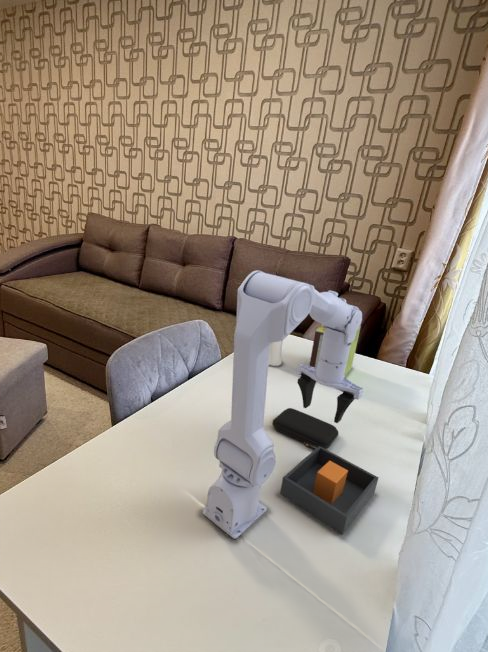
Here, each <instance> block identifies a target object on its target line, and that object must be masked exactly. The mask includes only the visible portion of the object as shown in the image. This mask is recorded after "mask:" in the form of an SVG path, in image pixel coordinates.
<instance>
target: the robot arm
mask: <svg viewBox="0 0 488 652" xmlns="http://www.w3.org/2000/svg"><path fill="white" fill-rule="evenodd" d="M236 294H237V296H236V300H237V301H236V317H235V318H236V320H235V322H236V325H235V328H234V329H235V330H234V335H233V357H232V358H233V359H232V360H233V362H232V364H233V365H232V389H231V390H232V391H231V412H230V413H231V415H230V420H229V421H228V422H225V423H224V424H223V425H222V426H221V427H220V428H219V429H218V431H217V439H216V441H215V444H214V448H213V456H214V458H215V459H216V460H218V461H219V463H218V464H219V465H218V467H219V468H220V469H221V471H220V474H219V476H218V477H217V480H215V482H214V483H213V484H212V485H210V487H209V488H208V491H207V500H206V507H205V508H204V509H203V510H202V514H203V515H204V516H205V517H206V518H208V519H209V520H210V521H211V522H212V523H213V524H215V525H216V527H218V528H220V529H221V530H222V531H223V532H225V533H226V534H227V535H229V537H230V538H232V539H234V540H236V539H238V538H239V537H240V536H241V535H242V533H243V532H245V531H246V530H247V529H248V528H249V527H250V526H252V525H253V523H254V522H255V521H257V520H258V519H259V518H260V517H261V516H262V515H263V514H264V513H265V512H266V511H267V510H268V508H267V506H265V505H264V504H262V503H261V502H260V494H261V488H262V485H263V484H265V483H266V482H267V481H268V480H269V478H270V477H271V476H272V474H273V472H274V470H275V468H276V454H275V452H274V448H275V447H274V446H275V445H274V441H273V440H272V438H271V437H270V436H269V434H268V432H267V431H266V430H265V428H264V424H265V413H266V411H265V410H266V400H267V399H266V398H267V386H268V373H269V365H268V364H269V352H270V345H271V343H273V342H279V341H282V342H284V340H285V339H287V337H288V336H289V335H290V334H291V333H292V332H293V331H294V330H296V328H297V327H298V326H299V325H300V324H301V323H302V322H303V321H304V320H305V319H306V318H307V317H308V315H309V316H310V318H311V319H312V320H313V321H315V322H317V323H319V324H320V326H322V327H323V326H325V329H324V334H323V339H322V344H321V350H320V355H319V360H318V365H317V368H315V367H311V366H309V365H306V364H304V363H301V364H299V365H298V366H297V367H296V368H297V369H296V375H298V376H299V377H298V378H297V381H296V382H297V385H298V387H299V389H300V393H301V397H302V407H303V408H304V409H307V408H308V407H310V406H311V404H312V401H313V396H314V390H315V387H316V385H317V383H318V384H320V385H322V386H325V387H328V388H332V389H335V390H338V391H340V392H342V393H340V394H339V395H338V396H337V397H336V411H335V415H334V419H333V422H334V423H336V424H338V423H339V422H341V421H342V419H343V417H344V414H345V413H346V411H347V409H348V408H349V407H350V406H351V404H352V403H353V402H354V401H355V400H360V399H361V398H362V397H363V393H364V389H365V388H363V387H361V386H359V385H357V384H356V383H354V382H353V381H350V379H347V378H346V377H344V374H345V369H346V365H347V360H348V356H349V351H350V347H351V342H353V341H354V339H355V337H356V333H357V330H358V329H359V327H360V325H361V324H362V322H363V312H362V311H361V310H360V308H359V307H358V306H355V305H351V304H349V303H347V300H346V299H345V298H344V297H338V296H339V293H338V292H337V291H334V290H330V289H329V290H328V291H321V292H319V291H318V290H317V289H315V286H314V285H312V284H309V283H307V282H303V281H298V280H295V279H291V278H287V277H283V276H281V275H280V276H279V275H275V274H273V273H272V274H271V273H266V272H264V271H262V270H259V269H257V270H253V271H251V272H250V273H249V274H248V275H247V276H246V277H245V279H244V280H243V281H242V283H241V285H239V287H238V288H237V293H236Z"/></svg>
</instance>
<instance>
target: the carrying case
mask: <svg viewBox="0 0 488 652" xmlns="http://www.w3.org/2000/svg"><path fill="white" fill-rule="evenodd" d="M271 424H272V427H273V428H274V429H275V431H278V432H279V433H282V434H284V435H287V436H288V437H290V438H293V439H294V440H297V441H299V442H301V443H304V446H306V447H308V448H313V449H314V450H315V449H316V448H317V447H318V446H321V447H322V448H324V449H326V450H328V448H330V446H331V445H332V444H333V442H334V441H335V440H336V439H337V437H338V436H339V434H340V433H339V431H338V429H337V427H336V426H335V425H333V424H332V423H329V422H327V421H324V420H322V419H319V418H317V417H315V416H313V415H310V414H307V413H305V412H303V411H300V410H298V409H296V408H292V407H288V408H286V409H284V410H283V411H282V412H280V414H278V415H277V416H276V417H275V418H274V419H272V422H271Z"/></svg>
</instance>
